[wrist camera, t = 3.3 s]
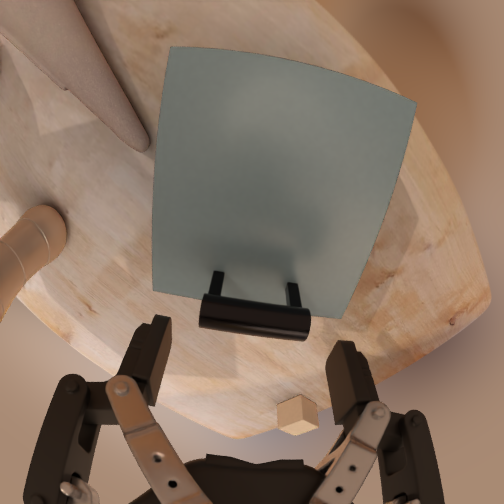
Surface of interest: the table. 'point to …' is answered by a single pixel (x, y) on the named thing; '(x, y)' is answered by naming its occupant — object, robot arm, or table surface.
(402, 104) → the lid
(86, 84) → the beige long cone
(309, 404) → the tan cube
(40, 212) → the plastic bottle
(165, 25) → the table surface
